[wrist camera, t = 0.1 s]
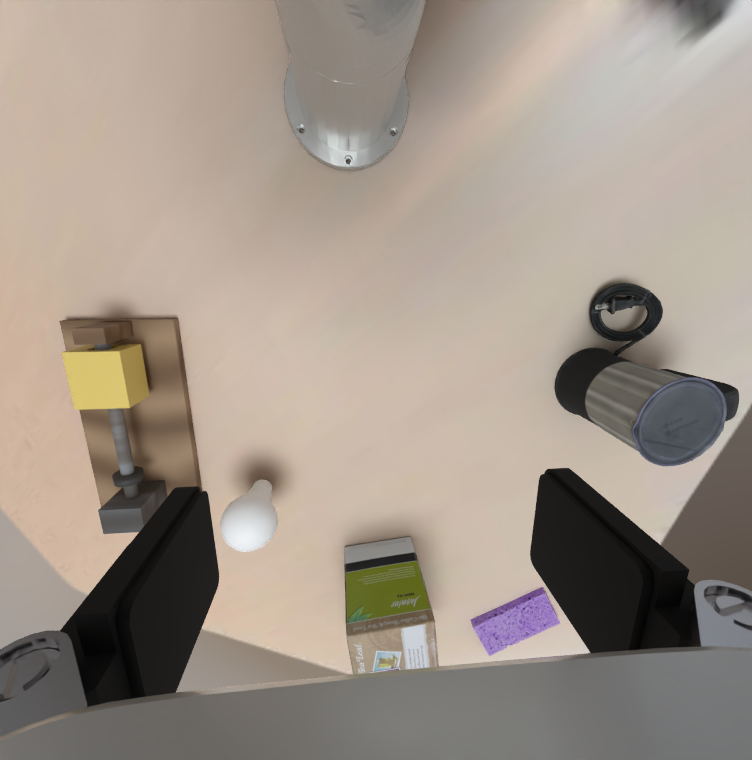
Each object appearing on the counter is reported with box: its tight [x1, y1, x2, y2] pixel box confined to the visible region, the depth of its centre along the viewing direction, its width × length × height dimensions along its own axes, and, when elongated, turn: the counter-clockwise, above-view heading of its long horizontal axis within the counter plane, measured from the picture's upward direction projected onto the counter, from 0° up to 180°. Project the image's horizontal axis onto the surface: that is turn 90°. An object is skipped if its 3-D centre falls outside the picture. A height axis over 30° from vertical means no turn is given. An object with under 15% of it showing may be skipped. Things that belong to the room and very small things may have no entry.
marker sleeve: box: [62, 344, 150, 410], centre depth 40 cm, size 6×5×4 cm
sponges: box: [471, 587, 560, 656], centre depth 60 cm, size 7×13×2 cm, turn 116°
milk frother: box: [555, 283, 739, 466], centre depth 42 cm, size 14×16×15 cm
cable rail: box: [60, 319, 202, 534], centre depth 43 cm, size 24×12×7 cm, turn 0°
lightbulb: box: [221, 479, 278, 552], centre depth 45 cm, size 6×6×11 cm
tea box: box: [344, 537, 439, 674], centre depth 49 cm, size 15×10×15 cm, turn 6°
